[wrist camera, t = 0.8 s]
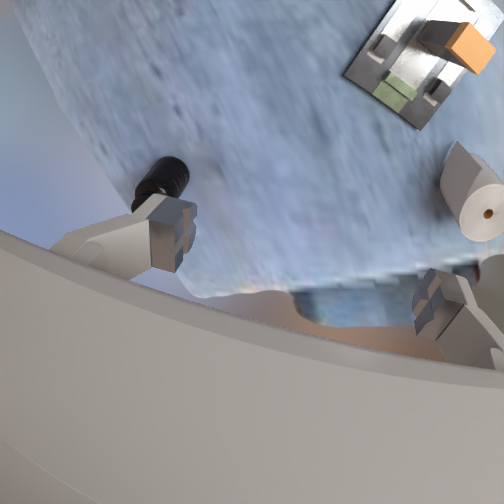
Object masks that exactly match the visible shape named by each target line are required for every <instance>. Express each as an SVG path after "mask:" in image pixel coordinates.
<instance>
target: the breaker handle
mask: <svg viewBox="0 0 504 504" xmlns="http://www.w3.org/2000/svg"><path fill="white" fill-rule="evenodd" d="M417 40H418V41H419V42H421V43H422V44H423V45H424V46H425V47H427V48H428V49H429V50H430V51H431V52H433V53H434V54H435V55H436V56H437V57H438V58H441V59H444V60H446V61H449V62H451V63H454V64H456V65H459V66H461V67H463V68H466V69H468V70H469V71H470V72H472V73H474V74H476V75H479V74H480V72H481V71H482V69H483V68H484V67H485V65H486V64H487V63H488V61H489V60H490V58H491V57H492V56H493V54H494V53H495V51H496V49H495V48H494V47H493V46H492V45H491V44H490V42H489V41H488V40H487V39H486V38H485V37H484V36H483V35H482V34H481V33H480V32H479V31H478V30H477V29H476V28H475V27H474V26H473V25H472V24H471V23H470V22H464V21H462V22H454V21H443V20H430V21H429V22H428V23H427V25H426V26H425V28H424V29H423V30H422V32H421V33H420V35H419V36H418V37H417Z"/></svg>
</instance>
